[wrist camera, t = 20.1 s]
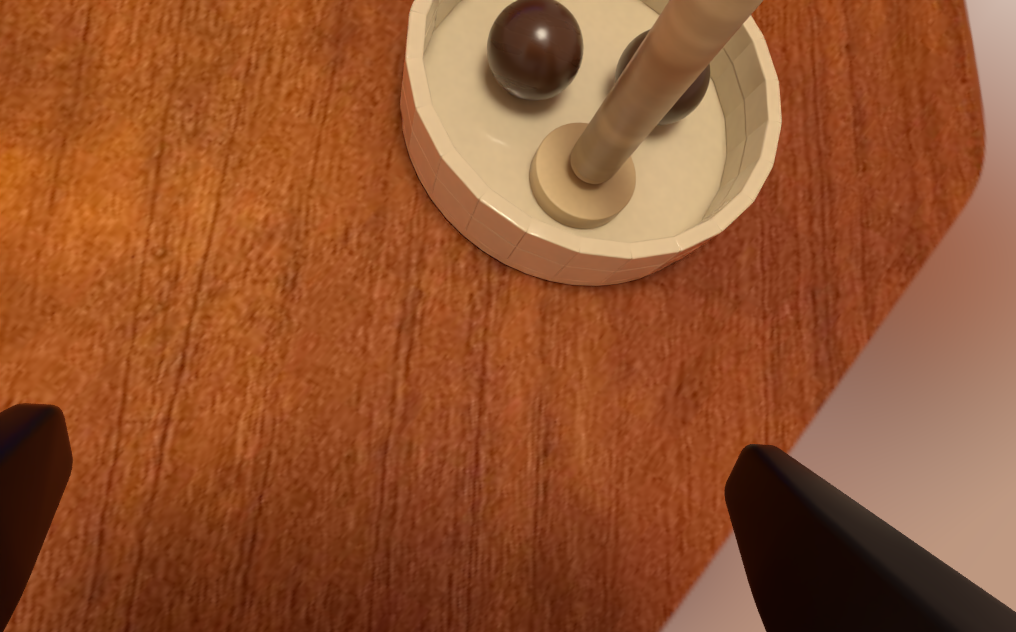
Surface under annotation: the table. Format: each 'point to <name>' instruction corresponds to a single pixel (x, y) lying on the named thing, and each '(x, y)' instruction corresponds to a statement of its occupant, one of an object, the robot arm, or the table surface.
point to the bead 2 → (686, 101)
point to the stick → (630, 114)
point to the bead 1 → (535, 49)
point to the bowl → (524, 124)
